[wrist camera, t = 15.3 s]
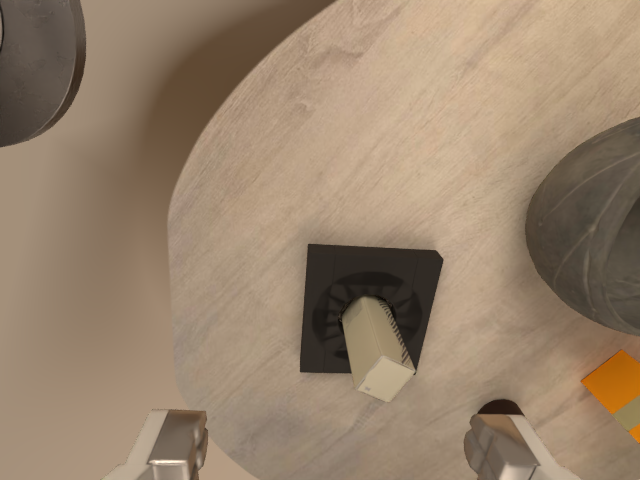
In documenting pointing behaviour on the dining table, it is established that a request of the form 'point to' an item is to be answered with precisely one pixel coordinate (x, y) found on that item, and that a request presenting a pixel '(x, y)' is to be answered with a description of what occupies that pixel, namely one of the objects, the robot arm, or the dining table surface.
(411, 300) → the pad
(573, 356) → the dining table surface
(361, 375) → the box
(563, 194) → the bowl
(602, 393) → the orange juice
